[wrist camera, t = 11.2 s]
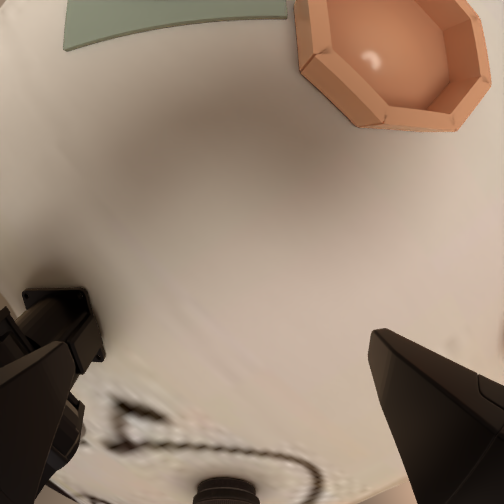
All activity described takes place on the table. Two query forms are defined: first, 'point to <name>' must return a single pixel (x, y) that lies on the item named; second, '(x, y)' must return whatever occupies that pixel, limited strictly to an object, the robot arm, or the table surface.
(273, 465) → the table surface
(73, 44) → the rubber mat
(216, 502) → the dark grey cylinder
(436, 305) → the table surface
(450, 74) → the terracotta bowl
